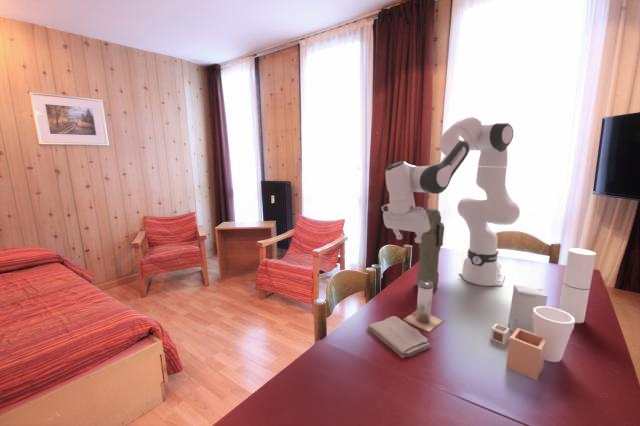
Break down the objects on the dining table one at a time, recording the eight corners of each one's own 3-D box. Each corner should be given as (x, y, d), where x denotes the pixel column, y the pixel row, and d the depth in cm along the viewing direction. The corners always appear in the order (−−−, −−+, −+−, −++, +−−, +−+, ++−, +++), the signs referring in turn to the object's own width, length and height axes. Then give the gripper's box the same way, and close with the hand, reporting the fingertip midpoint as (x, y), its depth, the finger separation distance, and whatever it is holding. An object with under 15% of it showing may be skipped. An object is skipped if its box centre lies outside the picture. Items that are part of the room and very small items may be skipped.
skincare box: (511, 333, 97) (516, 291, 94) (507, 323, 103) (512, 284, 100) (542, 338, 94) (548, 295, 91) (536, 328, 100) (542, 287, 97)
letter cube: (494, 334, 97) (495, 322, 96) (508, 339, 94) (510, 328, 93) (489, 339, 94) (491, 327, 93) (504, 345, 91) (505, 333, 90)
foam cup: (575, 368, 81) (583, 325, 79) (537, 363, 83) (544, 321, 80) (555, 346, 90) (561, 307, 88) (522, 343, 92) (527, 304, 90)
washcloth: (404, 361, 85) (404, 352, 84) (366, 330, 100) (366, 322, 100) (433, 348, 90) (433, 339, 90) (392, 320, 106) (392, 313, 105)
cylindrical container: (557, 317, 106) (567, 251, 101) (559, 310, 111) (569, 247, 106) (583, 325, 101) (596, 256, 96) (584, 317, 106) (596, 251, 102)
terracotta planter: (513, 355, 86) (517, 327, 85) (543, 367, 81) (547, 338, 80) (506, 366, 82) (509, 337, 80) (536, 380, 77) (541, 349, 75)
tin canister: (420, 314, 108) (422, 278, 106) (433, 319, 105) (436, 283, 102) (413, 319, 105) (415, 282, 102) (426, 325, 101) (428, 287, 99)
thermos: (433, 294, 125) (439, 213, 118) (410, 285, 134) (414, 209, 127) (444, 288, 130) (450, 210, 124) (421, 279, 139) (425, 207, 133)
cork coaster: (417, 310, 112) (417, 309, 112) (443, 321, 104) (443, 320, 104) (403, 320, 105) (403, 319, 105) (429, 332, 98) (429, 331, 98)
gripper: (431, 204, 102) (436, 241, 105) (390, 202, 120) (395, 234, 122) (418, 209, 99) (424, 247, 102) (378, 207, 117) (384, 239, 120)
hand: (408, 240), depth 112 cm, fingers open, 8 cm apart
